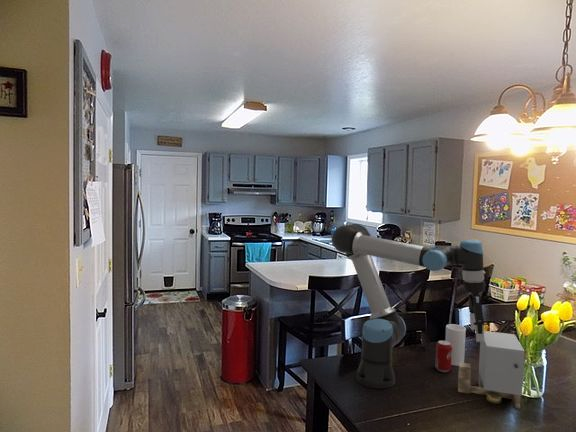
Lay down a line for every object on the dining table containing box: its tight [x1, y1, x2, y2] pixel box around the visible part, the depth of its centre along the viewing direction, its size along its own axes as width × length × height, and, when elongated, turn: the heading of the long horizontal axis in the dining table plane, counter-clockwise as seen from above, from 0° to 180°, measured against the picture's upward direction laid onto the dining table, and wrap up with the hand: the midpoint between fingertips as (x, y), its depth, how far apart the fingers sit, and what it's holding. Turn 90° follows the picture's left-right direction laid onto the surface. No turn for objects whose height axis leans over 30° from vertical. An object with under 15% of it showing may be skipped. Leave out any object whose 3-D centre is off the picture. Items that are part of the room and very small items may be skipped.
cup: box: [444, 323, 467, 367], centre depth 188 cm, size 8×8×16 cm
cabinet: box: [477, 330, 525, 397], centre depth 156 cm, size 12×19×22 cm, turn 161°
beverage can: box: [434, 340, 452, 373], centre depth 179 cm, size 6×6×12 cm
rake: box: [457, 362, 521, 410], centre depth 156 cm, size 20×10×10 cm, turn 71°
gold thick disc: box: [485, 392, 503, 404], centre depth 154 cm, size 5×5×2 cm
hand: (477, 335), depth 161 cm, fingers open, 13 cm apart
